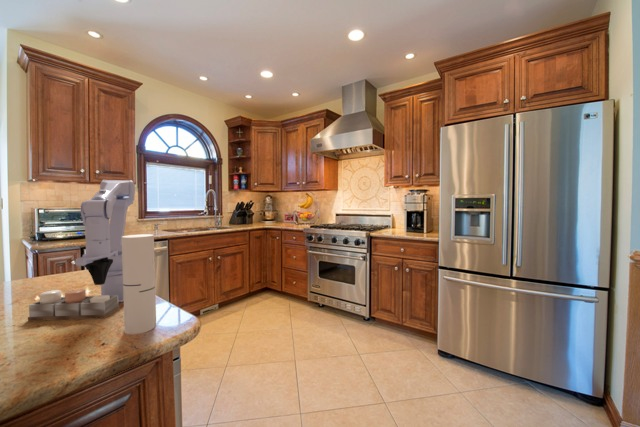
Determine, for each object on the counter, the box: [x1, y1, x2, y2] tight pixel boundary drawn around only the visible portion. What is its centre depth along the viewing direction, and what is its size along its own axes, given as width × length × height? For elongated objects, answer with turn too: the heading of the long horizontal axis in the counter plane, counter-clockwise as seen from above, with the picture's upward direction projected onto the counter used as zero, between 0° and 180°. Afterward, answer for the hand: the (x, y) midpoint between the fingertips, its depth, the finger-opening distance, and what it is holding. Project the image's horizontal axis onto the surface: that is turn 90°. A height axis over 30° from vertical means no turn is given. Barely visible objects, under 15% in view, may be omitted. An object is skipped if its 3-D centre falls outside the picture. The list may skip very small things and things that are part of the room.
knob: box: [90, 295, 110, 303], centre depth 83 cm, size 5×5×4 cm
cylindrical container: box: [122, 233, 157, 335], centre depth 73 cm, size 7×7×25 cm
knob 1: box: [39, 289, 62, 304], centre depth 82 cm, size 5×5×4 cm
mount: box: [27, 295, 120, 322], centre depth 82 cm, size 21×7×4 cm, turn 94°
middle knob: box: [64, 289, 87, 303], centre depth 82 cm, size 5×5×4 cm
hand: (99, 284), depth 82 cm, fingers closed
